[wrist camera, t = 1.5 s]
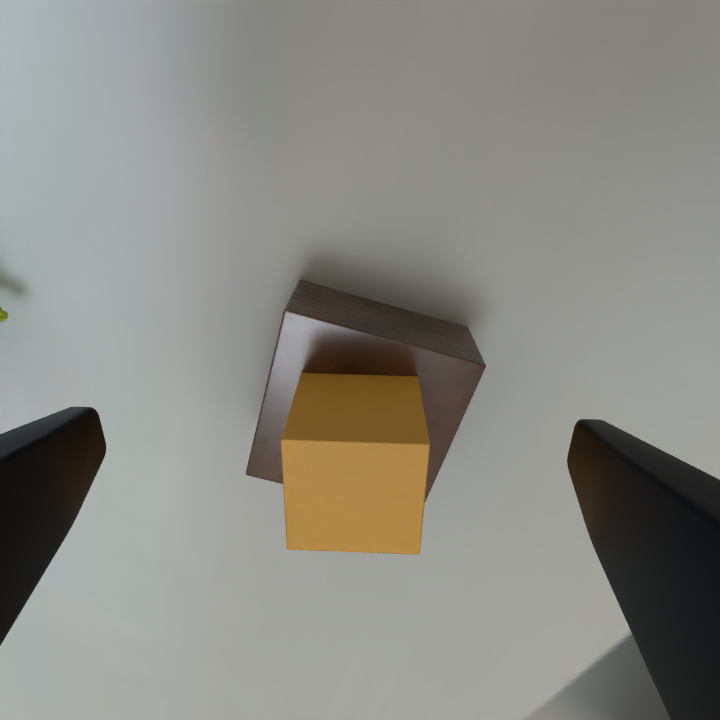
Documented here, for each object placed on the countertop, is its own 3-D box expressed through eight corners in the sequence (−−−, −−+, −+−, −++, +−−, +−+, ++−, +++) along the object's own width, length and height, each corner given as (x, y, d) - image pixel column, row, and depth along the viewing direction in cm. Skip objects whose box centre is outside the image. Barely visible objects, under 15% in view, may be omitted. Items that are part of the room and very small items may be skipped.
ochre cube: (418, 375, 19) (430, 444, 15) (410, 471, 21) (419, 555, 17) (300, 372, 19) (280, 439, 15) (303, 467, 21) (286, 550, 17)
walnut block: (468, 327, 23) (486, 365, 19) (412, 463, 26) (418, 517, 22) (299, 278, 22) (284, 309, 18) (263, 425, 25) (245, 475, 22)
